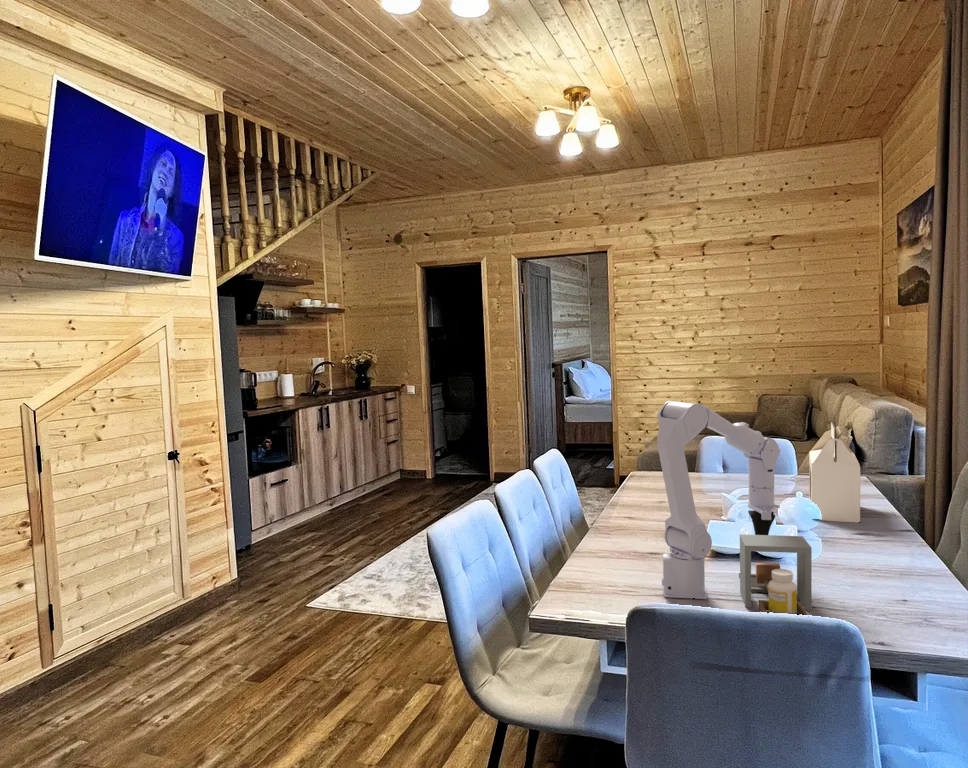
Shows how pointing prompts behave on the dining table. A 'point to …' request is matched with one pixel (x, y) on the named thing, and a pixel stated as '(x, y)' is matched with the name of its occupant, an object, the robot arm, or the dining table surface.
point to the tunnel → (777, 545)
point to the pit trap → (756, 585)
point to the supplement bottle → (782, 592)
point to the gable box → (835, 478)
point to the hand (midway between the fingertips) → (761, 541)
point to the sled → (764, 578)
